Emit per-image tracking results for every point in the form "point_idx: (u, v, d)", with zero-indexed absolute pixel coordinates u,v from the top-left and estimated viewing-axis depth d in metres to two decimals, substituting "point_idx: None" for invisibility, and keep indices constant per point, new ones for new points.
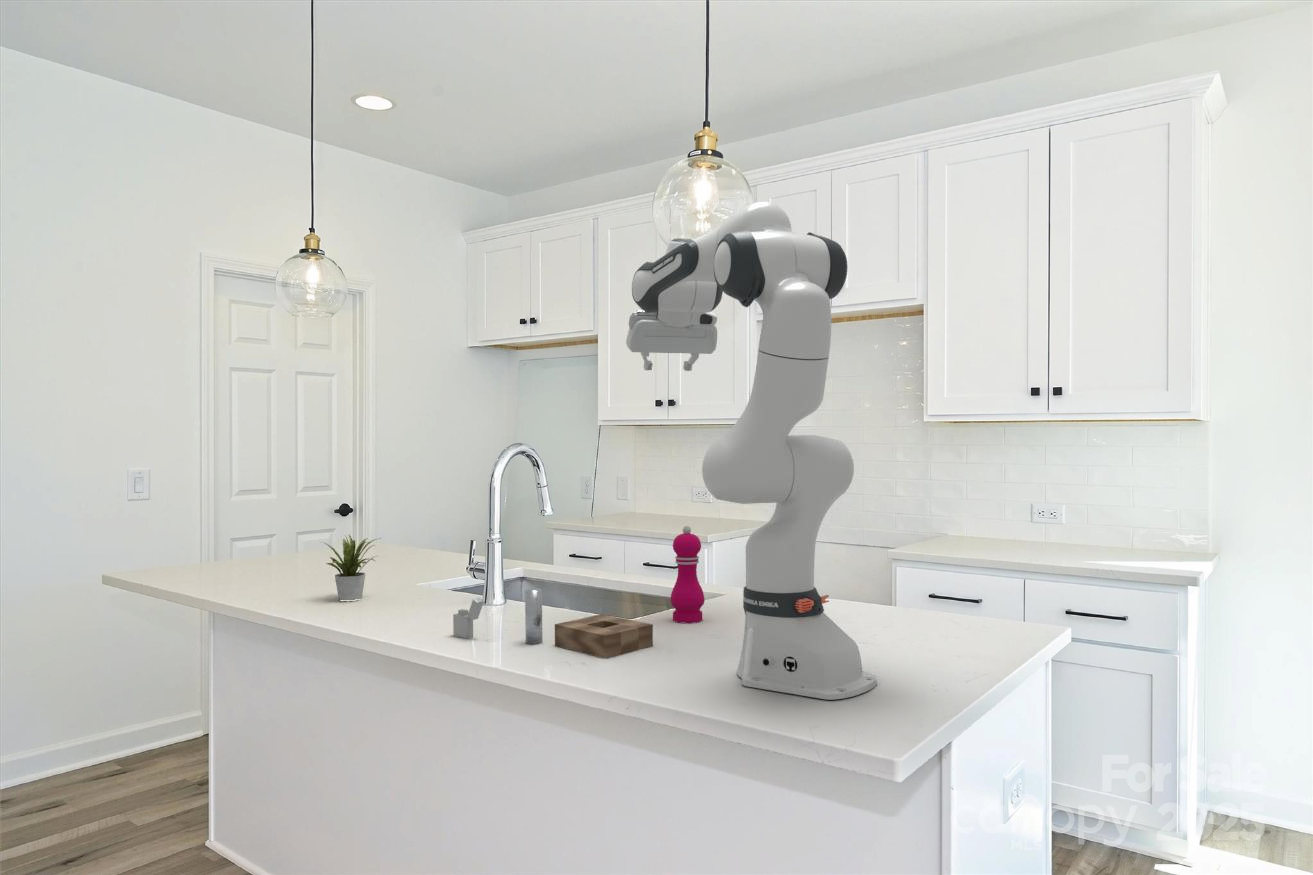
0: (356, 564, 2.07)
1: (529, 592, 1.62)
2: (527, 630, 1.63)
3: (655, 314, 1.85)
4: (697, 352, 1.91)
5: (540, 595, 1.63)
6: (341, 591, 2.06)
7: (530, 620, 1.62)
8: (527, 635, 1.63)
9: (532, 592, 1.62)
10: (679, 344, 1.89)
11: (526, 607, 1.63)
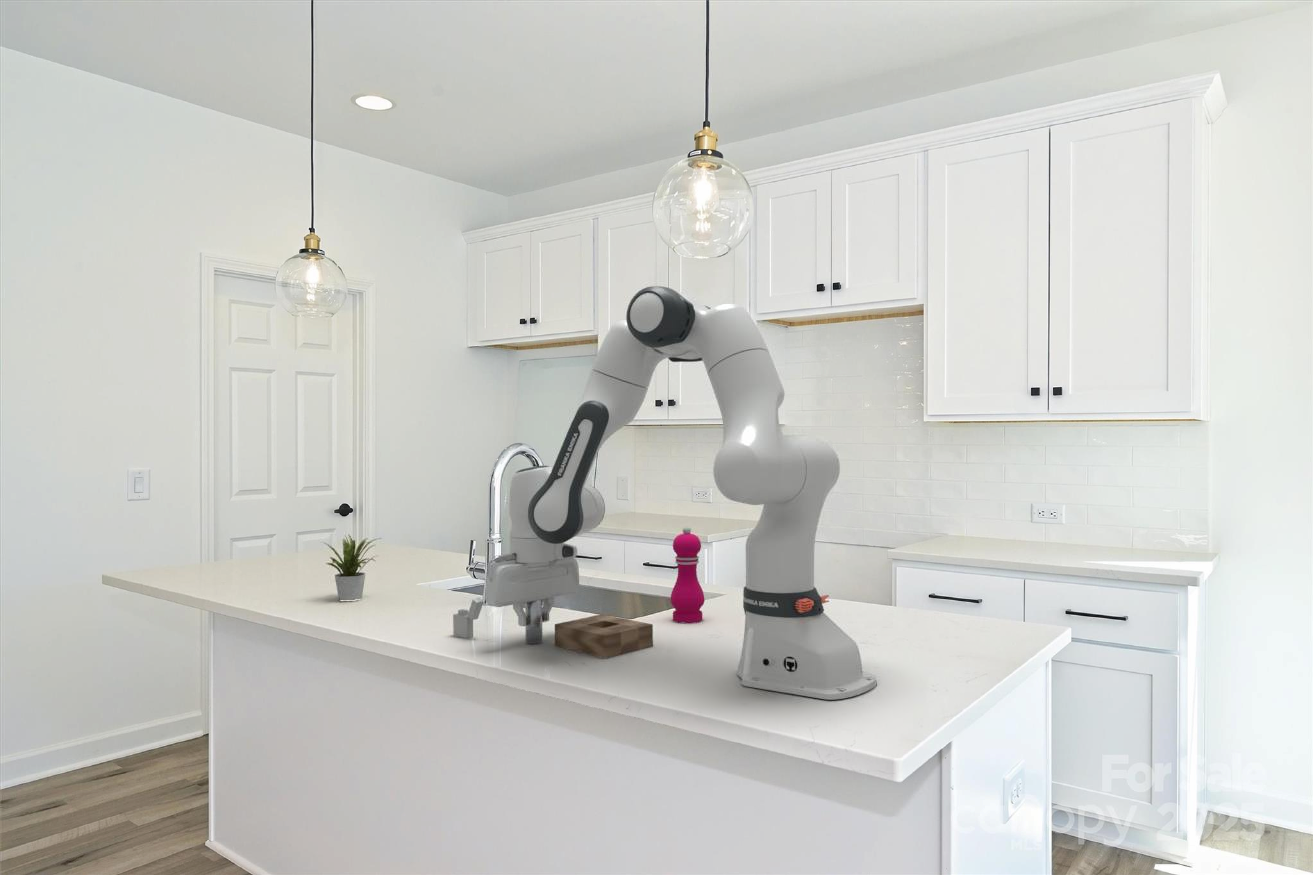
0: (356, 564, 2.07)
1: None
2: (527, 630, 1.63)
3: (514, 557, 1.60)
4: (562, 593, 1.67)
5: None
6: (341, 591, 2.06)
7: (530, 620, 1.62)
8: (527, 635, 1.63)
9: None
10: (544, 587, 1.64)
11: (526, 607, 1.63)
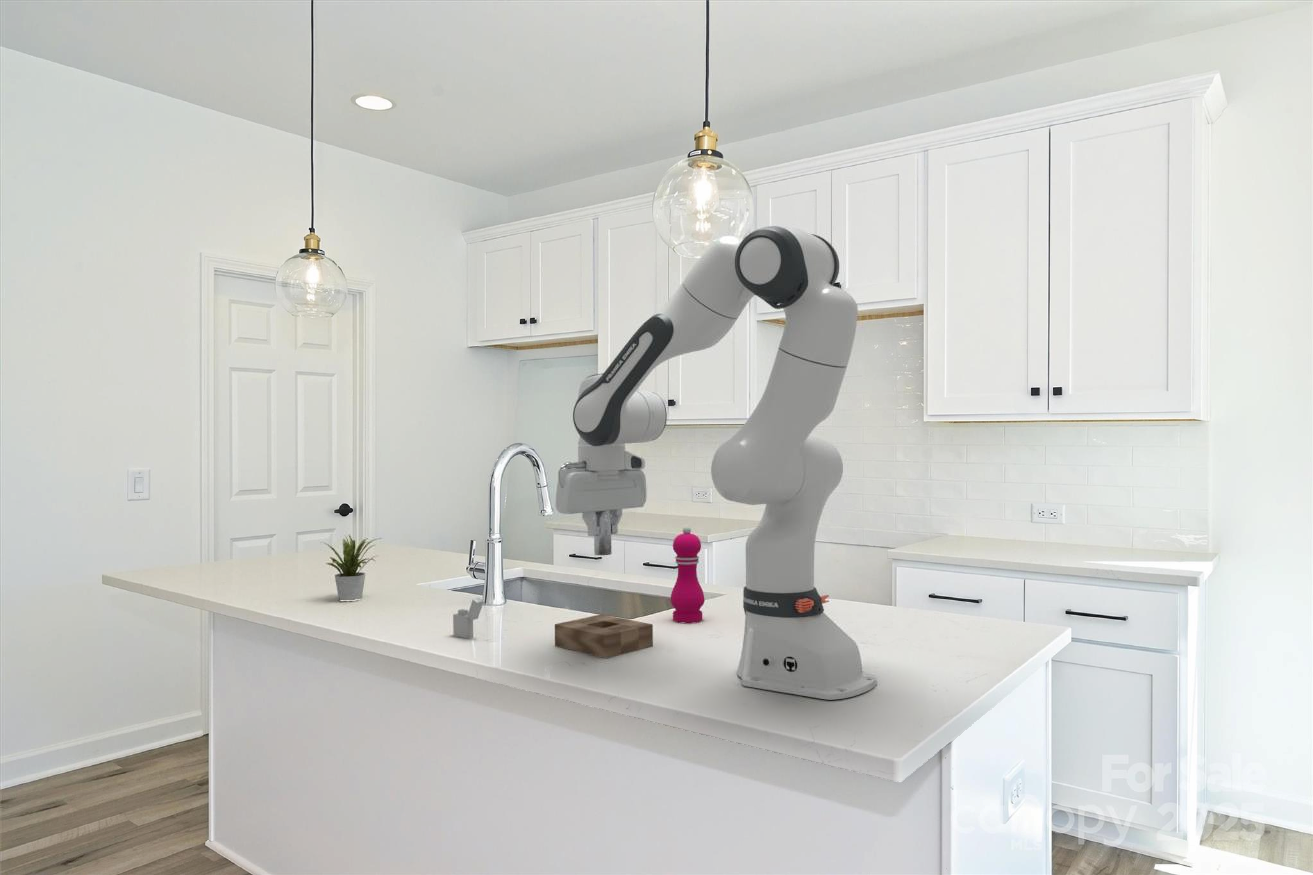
0: (356, 564, 2.07)
1: None
2: (596, 541, 1.59)
3: (584, 465, 1.57)
4: (631, 506, 1.64)
5: None
6: (341, 591, 2.06)
7: (599, 531, 1.59)
8: (596, 546, 1.59)
9: None
10: (613, 497, 1.60)
11: (595, 518, 1.60)
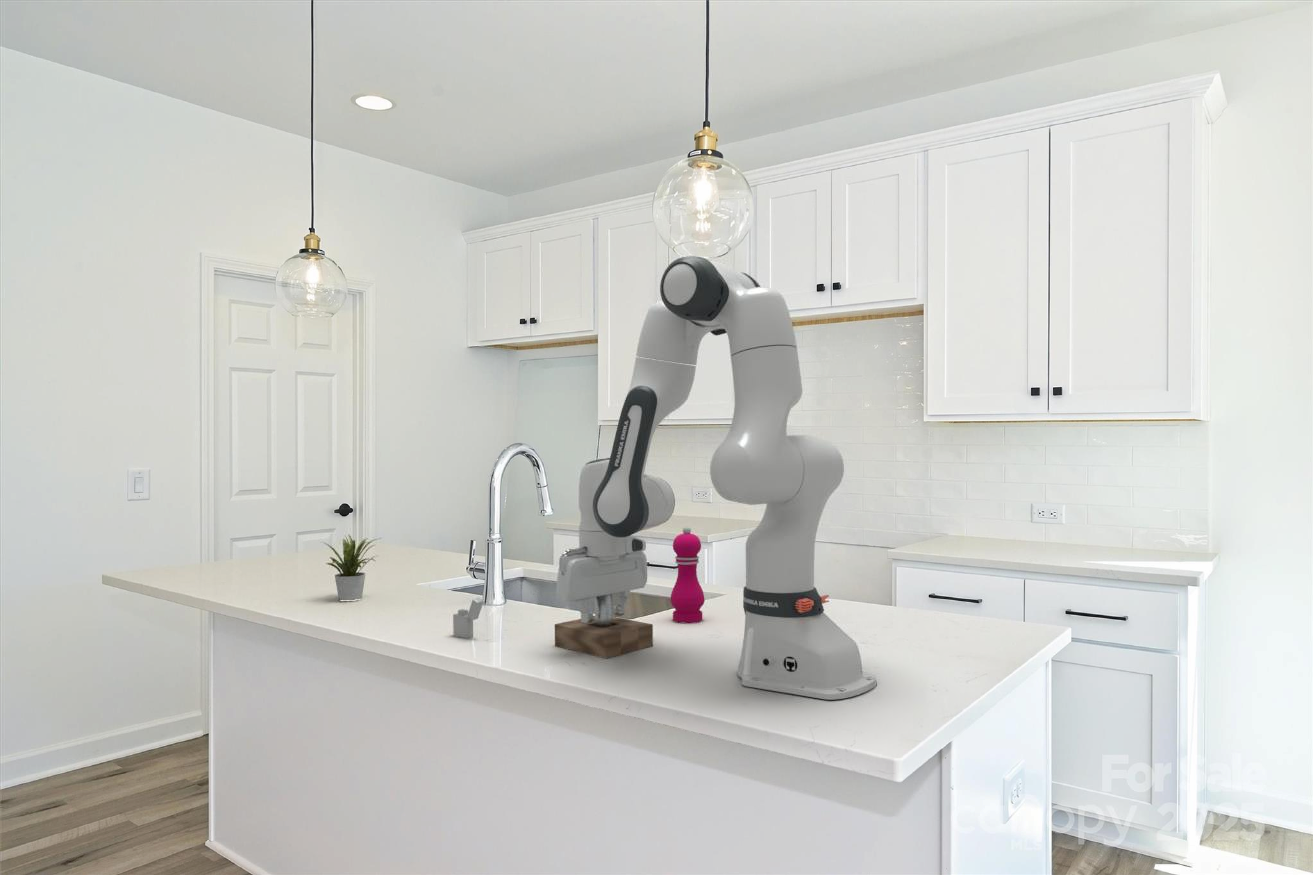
0: (356, 564, 2.07)
1: None
2: None
3: (585, 551, 1.57)
4: (631, 588, 1.64)
5: (610, 597, 1.60)
6: (341, 591, 2.06)
7: (600, 623, 1.59)
8: None
9: None
10: (614, 581, 1.60)
11: (596, 610, 1.60)
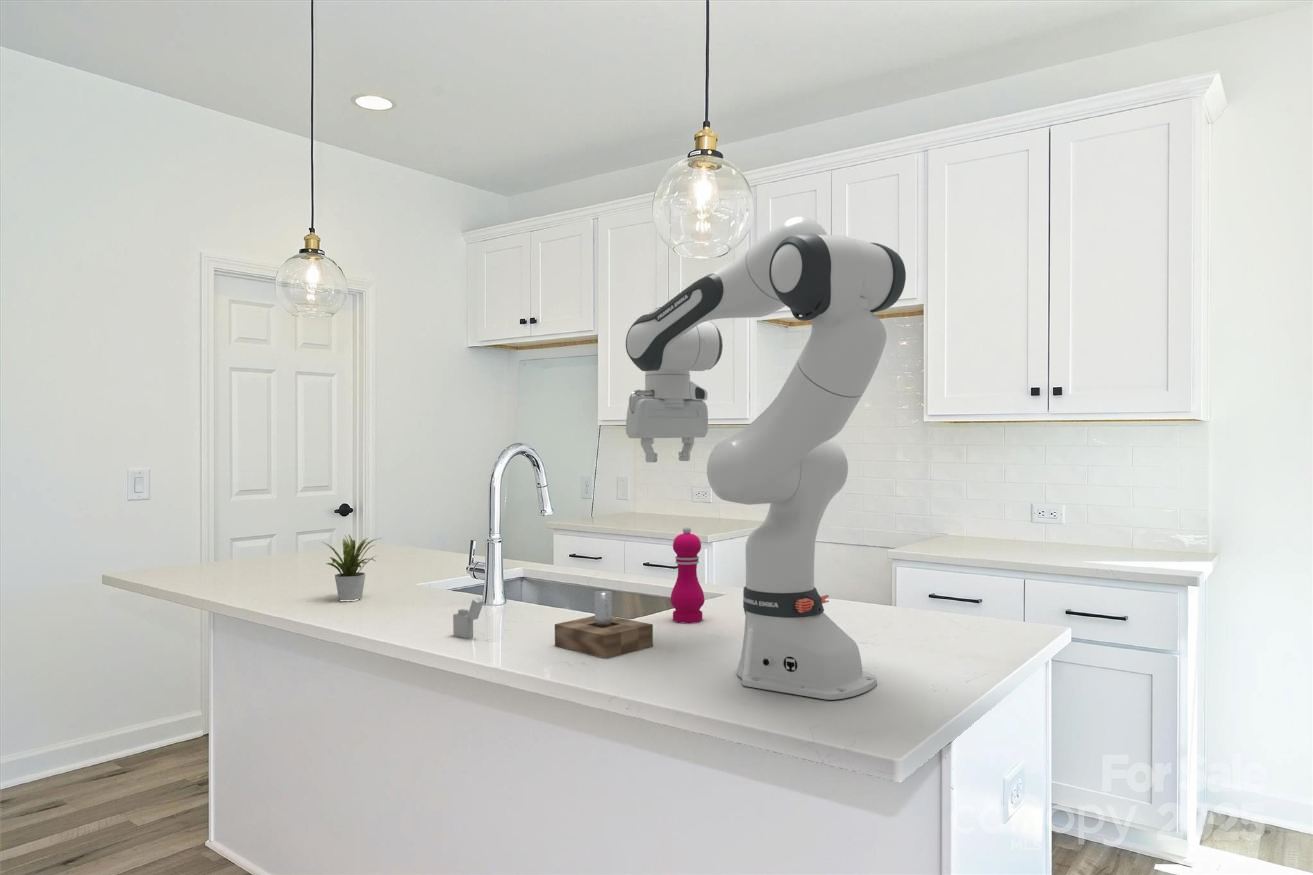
0: (356, 564, 2.07)
1: (599, 594, 1.59)
2: None
3: (652, 393, 1.64)
4: (694, 435, 1.71)
5: (610, 597, 1.60)
6: (341, 591, 2.06)
7: (600, 623, 1.59)
8: None
9: (602, 594, 1.59)
10: (679, 426, 1.68)
11: (596, 610, 1.60)
